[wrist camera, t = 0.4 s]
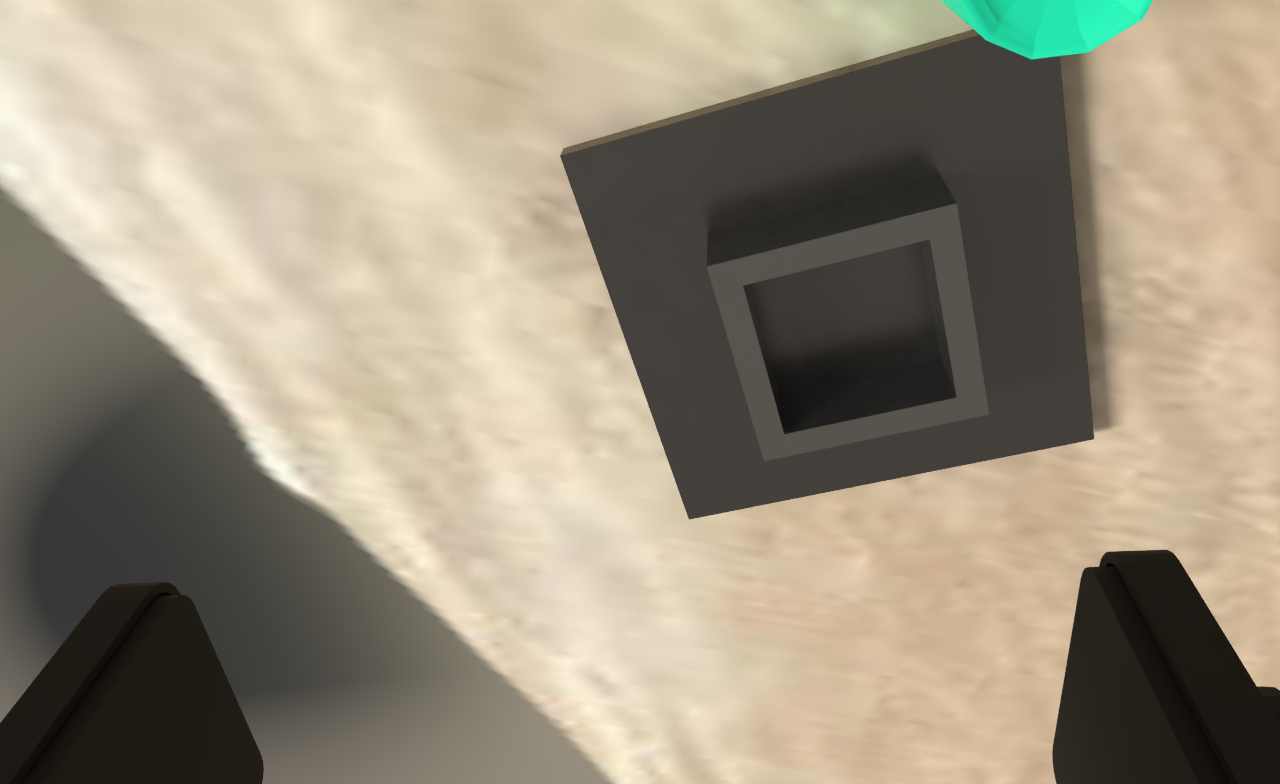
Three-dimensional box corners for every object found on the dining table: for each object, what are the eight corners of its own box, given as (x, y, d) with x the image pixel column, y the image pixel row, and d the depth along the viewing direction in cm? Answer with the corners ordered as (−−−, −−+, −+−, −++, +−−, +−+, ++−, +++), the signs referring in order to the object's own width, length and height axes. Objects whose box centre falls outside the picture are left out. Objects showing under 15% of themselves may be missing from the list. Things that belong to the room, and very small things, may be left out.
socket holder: (563, 148, 42) (547, 183, 38) (1047, 8, 38) (1085, 31, 34) (689, 507, 51) (687, 564, 47) (1087, 427, 47) (1119, 483, 43)
